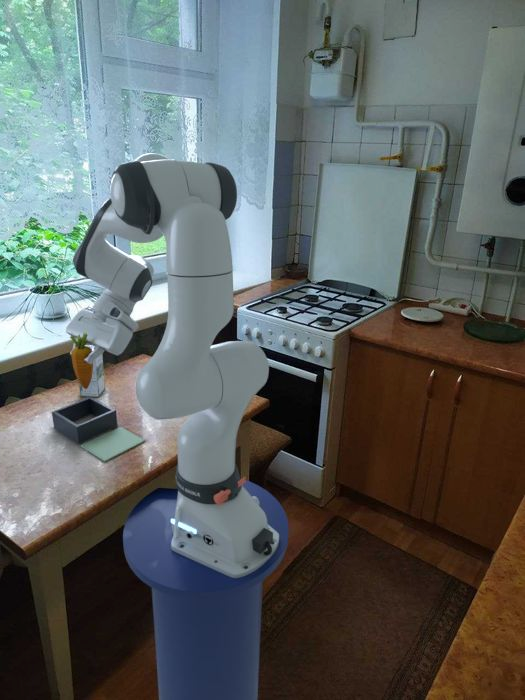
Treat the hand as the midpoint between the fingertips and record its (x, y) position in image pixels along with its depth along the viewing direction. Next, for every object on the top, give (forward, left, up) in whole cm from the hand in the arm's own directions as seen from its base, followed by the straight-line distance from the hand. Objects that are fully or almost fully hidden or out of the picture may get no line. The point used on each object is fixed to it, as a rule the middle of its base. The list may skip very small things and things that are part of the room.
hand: (80, 359), depth 122 cm
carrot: (0, -1, -9) cm, 9 cm away
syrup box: (+18, -14, -21) cm, 31 cm away
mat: (-10, -1, -21) cm, 23 cm away
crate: (+2, -1, -21) cm, 21 cm away
